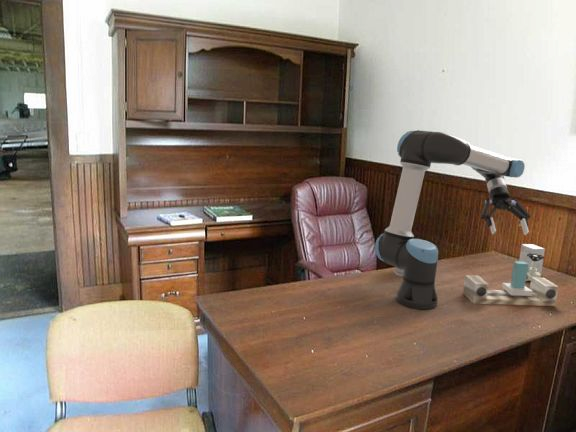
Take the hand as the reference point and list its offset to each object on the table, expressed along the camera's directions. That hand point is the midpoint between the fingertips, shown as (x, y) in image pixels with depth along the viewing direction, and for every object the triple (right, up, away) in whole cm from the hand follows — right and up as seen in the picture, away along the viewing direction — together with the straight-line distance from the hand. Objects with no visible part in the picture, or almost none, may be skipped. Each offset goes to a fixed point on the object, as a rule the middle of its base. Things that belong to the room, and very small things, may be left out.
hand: (510, 233), depth 187 cm
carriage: (-1, -24, -7) cm, 25 cm away
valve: (+17, -22, +16) cm, 33 cm away
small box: (+22, -20, +27) cm, 41 cm away
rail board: (-4, -26, -7) cm, 27 cm away
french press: (-38, -19, +19) cm, 46 cm away
